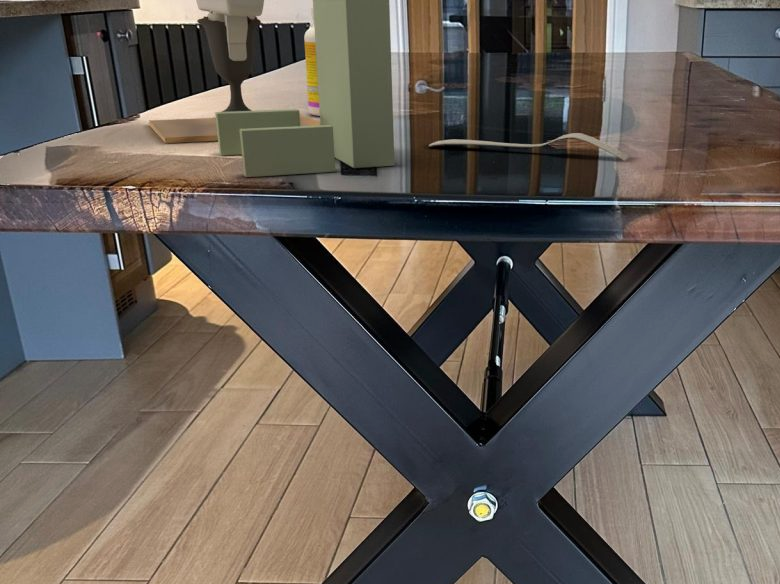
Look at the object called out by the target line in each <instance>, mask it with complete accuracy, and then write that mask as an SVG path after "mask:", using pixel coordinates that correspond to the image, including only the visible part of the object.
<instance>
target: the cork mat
mask: <svg viewBox="0 0 780 584" xmlns="http://www.w3.org/2000/svg"><path fill="white" fill-rule="evenodd" d="M148 125H149V127H150V128H151V129H152V130H153V131H154V133H156V134H157V136H158V137H159V138H160V139H161V140H162V141H163V143H165V144H178V143H181V144H183V143H184V144H185V143H200V142H201V143H203V142H218V135H217V125H216V117H201V118H200V117H199V118H178V119H177V118H176V119H175V118H174V119H151V120H148ZM316 125H320V121H317V120H315V119H312V118H310V117H308V116H306V115H304V114H301V113H300V126H316Z"/></svg>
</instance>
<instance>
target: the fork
mask: <svg viewBox="0 0 780 584" xmlns="http://www.w3.org/2000/svg"><path fill="white" fill-rule="evenodd" d="M566 139H576V140H578V141H582V142H586V143H588V144H591V145H592V146H595V147H596V148H599V149H601V150H604V151H605V152H608V153H609V154H611V155H613V156H615V157H617V158H618V159H620V160H622V161H624V162H626V161H627V160H628V159H629V156H628V155H626V154H624V153H623V152H621V151H619V150H618V149H616V148H615V147H613V146H611V145H610V144H607V143H605V142H604V141H602V140H599V139H598V138H595V137H593V136H590V135H587V134H584V133H580V132H573V133H568V134H563V135H561V136H559V137H557V138H555V139H553V140H550V141H547V142H544V143H535V144H529V143H509V142H498V141H487V140H475V139H473V140H472V139H460V138H459V139H458V138H457V139H454V138H451V139H444V140H438V141H434V142H432V143H429V144H428V147H429V148H430V147H431V148H432V147H437V146H438V147H439V146H484V147H502V148H503V147H505V148H507V147H508V148H529V149H530V148H531V149H532V148H533V149H534V148H541V147H544V146H548V145H551V144H552V143H555V142H558V141H561V140H566Z"/></svg>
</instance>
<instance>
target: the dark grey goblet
mask: <svg viewBox="0 0 780 584" xmlns="http://www.w3.org/2000/svg"><path fill="white" fill-rule="evenodd" d="M196 22H197V23H198V25H201V26H202V28H204V32H205V35H206V38H207V43H208V47H209V51H210V55H211V60H212V63H213V67H214V70H215V72H216V73H217V74H218V75H219V76H220V77H221V78H222V79H223V80H224V81H225V82H227V84H228V85H229V91H230V101H229V104H228V106H227V107H226V108H225V109H224V110H222V111H221V112H233V111H253V110H252V109H251V108H249V107H248V106H247V105H246V104H245V102H244V100H243V95H242V84H243V83H244V81H246V79H248V78H249V76H250V74H252V72H253V66H254V52H255V51H254V50H255V49H254V47H255V46H254V45H255V32H256V28H257V27H258V26H259V25H261V24H262V21H261V20H260V19H258V16H247V23H248V30H247V39H246V51H247V58H246V60H244V61H233V60H231V59H229V58H228V54H227V43H228V42H227V29H226V26H225V18H224V15H223V14H218V13H216V12H215V11H214V9H213V8H211V10H210V12H208V14H207V16H206V15H205V16H203V17H202V18H199V19H197V20H196Z"/></svg>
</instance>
